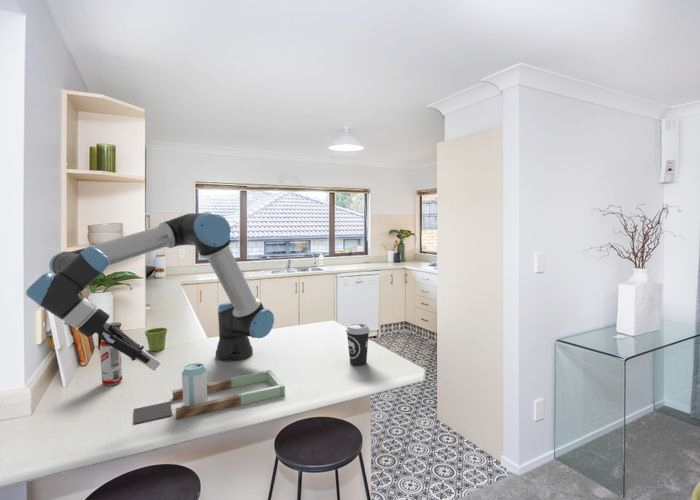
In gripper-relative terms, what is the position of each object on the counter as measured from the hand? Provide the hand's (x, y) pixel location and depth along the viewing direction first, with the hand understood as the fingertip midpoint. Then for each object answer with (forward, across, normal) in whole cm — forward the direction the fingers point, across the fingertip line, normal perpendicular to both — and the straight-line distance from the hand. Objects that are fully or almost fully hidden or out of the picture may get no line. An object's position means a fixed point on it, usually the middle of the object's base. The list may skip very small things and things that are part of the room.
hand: (157, 366), depth 117 cm
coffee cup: (+60, -5, +41) cm, 73 cm away
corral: (+30, 0, +11) cm, 32 cm away
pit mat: (+9, 0, -11) cm, 14 cm away
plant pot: (+11, -66, -9) cm, 67 cm away
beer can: (0, -32, -20) cm, 38 cm away
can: (+17, 0, -3) cm, 17 cm away
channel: (+19, 0, 0) cm, 19 cm away
